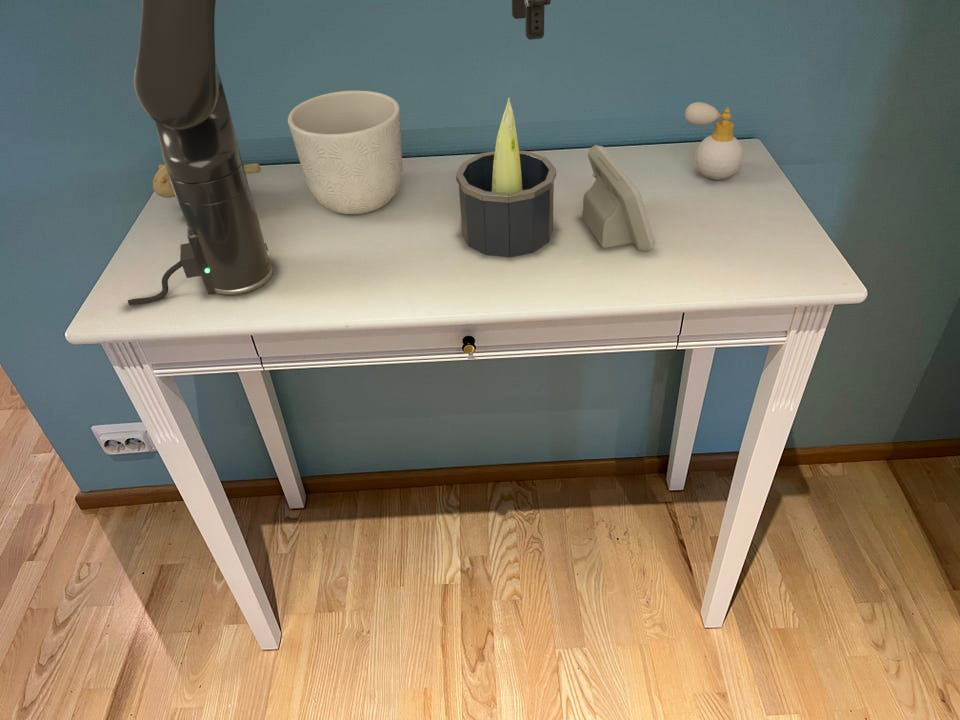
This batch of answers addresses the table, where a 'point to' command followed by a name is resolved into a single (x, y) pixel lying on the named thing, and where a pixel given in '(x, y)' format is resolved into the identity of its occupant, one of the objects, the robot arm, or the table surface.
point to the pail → (506, 206)
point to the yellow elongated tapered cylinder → (507, 156)
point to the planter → (349, 149)
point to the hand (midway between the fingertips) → (527, 27)
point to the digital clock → (615, 205)
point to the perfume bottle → (715, 142)
